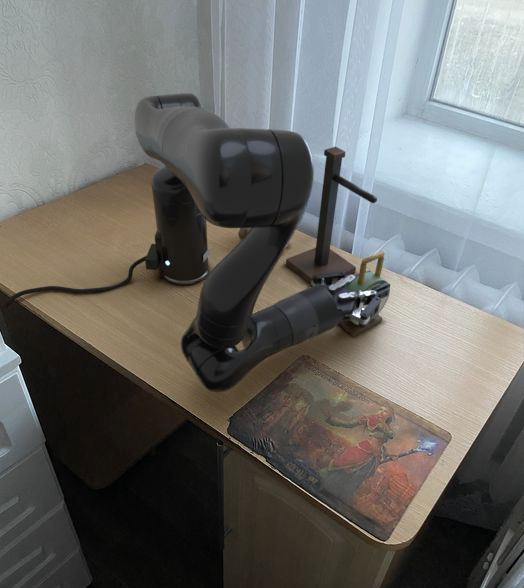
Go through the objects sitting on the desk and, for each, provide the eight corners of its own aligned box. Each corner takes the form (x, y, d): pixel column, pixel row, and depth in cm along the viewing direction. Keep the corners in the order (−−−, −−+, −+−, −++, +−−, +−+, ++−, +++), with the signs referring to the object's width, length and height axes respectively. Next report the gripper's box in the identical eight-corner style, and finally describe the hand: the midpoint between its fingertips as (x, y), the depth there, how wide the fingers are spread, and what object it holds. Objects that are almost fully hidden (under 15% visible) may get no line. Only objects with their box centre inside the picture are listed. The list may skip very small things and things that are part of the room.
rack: (376, 288, 104) (402, 167, 88) (338, 306, 100) (358, 182, 83) (323, 250, 114) (337, 134, 97) (285, 265, 109) (294, 146, 92)
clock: (349, 338, 93) (361, 270, 84) (333, 325, 96) (344, 258, 86) (385, 319, 97) (402, 253, 88) (370, 308, 100) (384, 242, 90)
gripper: (334, 322, 78) (414, 284, 86) (276, 275, 86) (354, 244, 94) (328, 359, 83) (405, 320, 91) (274, 311, 91) (348, 279, 99)
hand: (379, 281), depth 92 cm, fingers open, 3 cm apart
